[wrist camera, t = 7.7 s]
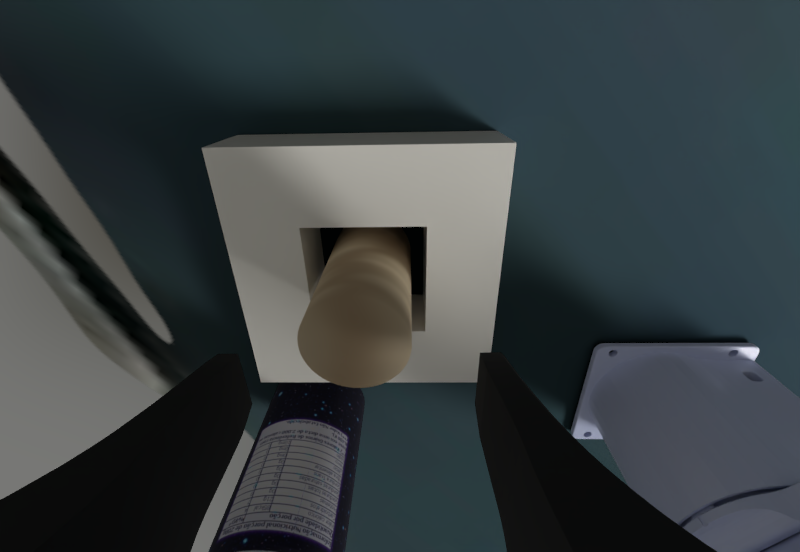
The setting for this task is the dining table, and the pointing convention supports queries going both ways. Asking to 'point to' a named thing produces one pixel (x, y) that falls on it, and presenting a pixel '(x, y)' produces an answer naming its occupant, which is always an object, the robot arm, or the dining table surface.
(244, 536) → the beverage can
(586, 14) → the dining table surface
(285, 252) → the socket block
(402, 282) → the beech peg
